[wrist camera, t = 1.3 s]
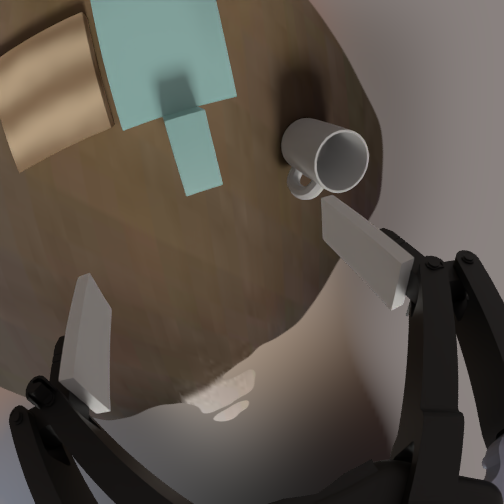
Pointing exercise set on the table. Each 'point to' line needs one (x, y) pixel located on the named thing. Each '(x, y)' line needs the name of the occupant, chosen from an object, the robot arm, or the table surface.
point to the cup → (323, 157)
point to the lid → (168, 74)
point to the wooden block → (52, 92)
